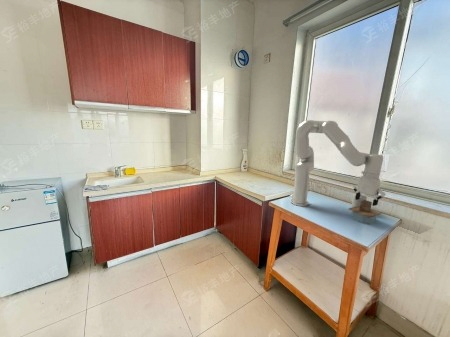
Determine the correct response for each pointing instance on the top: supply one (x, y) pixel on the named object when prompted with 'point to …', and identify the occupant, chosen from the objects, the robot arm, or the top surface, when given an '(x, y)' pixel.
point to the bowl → (363, 218)
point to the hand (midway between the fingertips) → (365, 202)
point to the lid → (365, 209)
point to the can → (357, 202)
